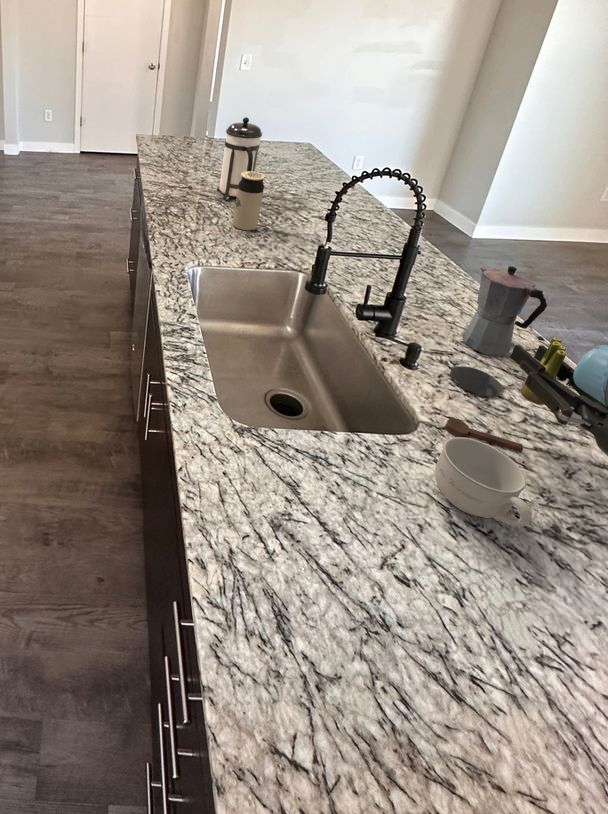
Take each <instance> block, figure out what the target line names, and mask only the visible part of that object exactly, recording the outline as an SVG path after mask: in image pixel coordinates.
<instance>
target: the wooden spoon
mask: <svg viewBox="0 0 608 814" xmlns="http://www.w3.org/2000/svg"><path fill="white" fill-rule="evenodd" d="M444 428H445V429H446V432H448V433H449V434H450V435H452V436H454V437H463V438H469V437H470V438H471V439H475V440H478V441H481V442H484V443H487V444H488V443H489V444H492V445H495V446H497V447H502V448H504V449H508V450H511V451H513V452H514V451H515V452H516V453H520V454H521V453H522V452H523V450H524V447H523V443H518V442H516V441H513V440H509V439H507V438H503V437H500V436H497V435H494V434H490V433H487V432H484V431H481V430H477V429H474V428H471V427H470V426H469V425H468V424H467V423H466V422H464V421H462V420H460V419H458V418H448V419H447V421H446V423H445V426H444Z"/></svg>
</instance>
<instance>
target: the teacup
mask: <svg viewBox="0 0 608 814" xmlns="http://www.w3.org/2000/svg"><path fill="white" fill-rule="evenodd" d="M434 479H435V483H436V486H437V487H438V489H439V490H440V492H441V494H442V495H444V497H445V498H446V499H447V501H449V502H450V504H452V505H453V506H454V507H456V508H457V509H458V510H460V511H462V512H464V513H466V514H468V515H471V516H475V517H480V518H486V519H494V520H495V521H497V522H503V523H505V524H508V525H510V526H513V527H517V528H522V527H523V528H524V527H526V526H528V525H530V524H531V522H532V518H533V515H532V511H531V509H530V507H529V505H528V504H527V503H526V501H524V500H523V499H521V498H519V496H520V494H521V492H523V490H524V489H525V488H526V486H527V480H526V479H527V478H526V476H525V474H524V472H523V470H522V469H521V468H520V466H519V465H518V464H517V463H516V462H515V461H514V460H513V459H512V458H511V457H509V456H508V455H507V454H505V453H504V452H502V451H500V450H499V449H497V448H496V447H494V446H492V445H490V444H488V443H487V442H484V441H482V440H479V439H475V438H471V437H470V438H469V437H466V438H463V437H456V436H454V437H451V438H449V439H447V440H445V442H444V443H443V446H442V449H441V452H440V454H439V457H438V459H437V462H436V465H435V467H434ZM514 506H515V507H516V508H517V509H518V511H519V518H518V519H517V518H514V517H512V516H510V515H508V514H507V513H508V512H510V510H511V508H512V507H514Z"/></svg>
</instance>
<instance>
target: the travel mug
mask: <svg viewBox="0 0 608 814" xmlns="http://www.w3.org/2000/svg"><path fill="white" fill-rule="evenodd" d="M241 176H242V179H241V181H240V182H239V186H238V192H237V197H236V200H235V206H234V210H233V211H234V212H233V218H232V226H233V227H235V228H236V229H239V230H241V231H254V230H256V229H257V228H258V225H259V218H260V213H261V208H262V207H261V206H262V202H263V197H264V191H265V184H264V180H265V179H266V176H265V174H263V173H261V172H258V171H255V172H252V171H247V172H243V173H241Z"/></svg>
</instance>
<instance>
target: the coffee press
mask: <svg viewBox="0 0 608 814" xmlns="http://www.w3.org/2000/svg"><path fill="white" fill-rule="evenodd" d="M225 134H226V136H225V140H224V151H223V157H222V165H221V173H220V179H219V180H220V181H219V186H217V187H216V191H217V192H221V193H222V194H223V197H222V199H223V200H224V201H228V200H229V198H230V197H236V198H237V192H238V186H239V182H240V181H241V179H242V176H241V173H243V172H247V171H252V172H256V167H257V161H258V155H259V150H260V146H261V139H262V136H263V132H262V130H261V128H260V127H259V126H258V125H256V124H253V123H250V119H249V117H247V116H245V117H243V118H242V122H234V123H231V124H230V125H229V126H228V127H227V128H226V130H225Z"/></svg>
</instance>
